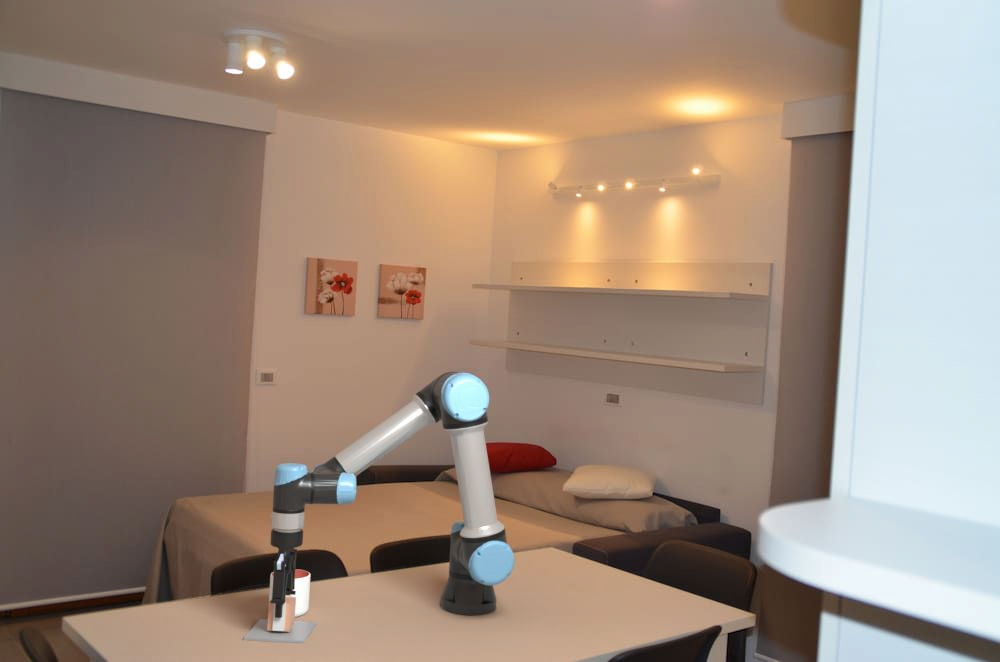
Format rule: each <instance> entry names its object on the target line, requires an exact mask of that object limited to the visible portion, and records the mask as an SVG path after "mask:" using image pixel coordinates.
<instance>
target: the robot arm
mask: <svg viewBox="0 0 1000 662" xmlns="http://www.w3.org/2000/svg"><path fill="white" fill-rule="evenodd" d="M489 403H490V393H489V389H488V388H487V385H486V384H485V383H484V382H483V380H481V379H480V378H479V377H477V376H476V375H473V374H472V373H467V372H458V371H447V372H444V373H442V374H440V375H438V376H437V377H435V379H433V380H431V382H429V383H427V385H426V386H424V387H423V388H422V389H420V390H419V391H417V392H416V393H415V394H413V398H412V400H411V401H410V402H408V403H407V404H406V405H404V406H403V407H402V408H401V409H399V410H397V411H396V412H395V413H393V414H392V415H391V416H389V417H388V418H386V419H385V420H383V421H382V422H380V423H378V425H376V426H375V427H373V428H372V429H370V430H369V431H368V432H366V433H365V434H364V435H362V436H361V437H359V438H357V440H355V441H354V442H352V443H351V444H349V445H348V446H347V447H345V448H344V449H343V450H342V451H340V452H338V453H337V454H336V455H334V456H333V457H331V458H330V459H328V460H327V461H326V462H324V463H320V464H317V465H315V466H314V467H313V468H312V470H311V472H309V471H308V466H307V465H306V464H302V463H296V462H295V463H294V462H293V463H291V462H287V463H285V462H284V463H281V464H278V465H277V466H276V468H275V472H274V479H273V480H274V481H273V491H272V492H273V493H272V494H273V496H272V513H271V514H270V515H269V518H270V519H271V528H272V529H271V530H270V543H269V544H270V546H272V547H274V548H277V549H278V551H277V553H276V555H275V560H274V561H273V572H274V576H273V591H272V600H271V601H270V603H274V611H273V627H272V631H284V630H285V614H286V602H285V597H292V595H295V593H296V591H293V590H294V588H295V569H297V568H296V566H297V564H296V563H297V555H298V549H296V548H299V547H301V546H302V545H303V543H304V542H303V539H304V530H303V528H304V527H305V512H306V511H305V507H306V505H339V506H341V505H350V504H353V503H354V502H355V500H356V496H357V478H356V477H357V476H358V475H360V474H361V473H362V472H364V471H365V470H367V469H368V468H370V467H371V466H372V465H374V464H375V463H376V462H378V461H379V460H380V459H382V458H383V457H385V456H386V455H388V454H389V453H390V452H392V451H393V450H395V449H396V448H397V447H398V446H400V445H402V444H403V443H404V442H406V441H407V440H409V439H410V438H411V437H413V436H414V435H415V434H417V433H418V432H419V431H421V430H422V429H424V428H425V427H427V426H428V425H436V424H437V423H439V422H440V421H441V423H442V427H443V428H442V429H443V430H444V431H445V432H446V433H447V434H449V436H450V442H451V446H452V447H451V449H452V452H453V453H452V454H453V460H454V466H455V467H454V468H455V473H456V479H457V487H458V491H459V498H460V499H459V500H460V504H461V511H462V517H463V521H456V522H453V524H452V525H451V531H450V535H449V536H450V546H449V547H450V548H449V565H448V569H449V570H448V578H447V582H446V583H445V587H444V589H443V592H442V594H441V596H440V597H441V598H440V607H441V608H442V609H443V610H445V611H447V612H450V613H453V614H456V615H457V614H458V615H466V616H468V615H469V616H471V615H472V616H476V615H485V614H490V613H493V612H494V611H496V609H497V595H496V592H495V589H494V586H496V585H499V584H501V583H503V582H504V581H506V580H507V579H508V578H509V576H510V575H511V574H512V573H513V570H514V567H515V561H516V560H515V555H514V551H513V549H512V548H511V546H510V545H509V544H508V540H507V533H506V527H505V525H504V523H502V522H501V521H500V520H498V515H497V514H498V513H497V508H496V502H495V493H494V488H493V484H492V483H493V482H492V481H493V480H492V476H491V469H490V461H489V457H488V451H487V444H486V437H485V431H484V430H485V428H486V426H487V425H488V424H489V419H488V412H487V410H488V407H489Z"/></svg>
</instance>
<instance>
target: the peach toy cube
mask: <svg viewBox="0 0 1000 662" xmlns="http://www.w3.org/2000/svg"><path fill="white" fill-rule="evenodd" d="M285 602H286V614H285V630H284V631H285V632H289V631H290V630H291V628H292V627H293V626H294V621H296V620H295V618H296V617H295V606H296V597H285ZM273 611H274V603H270V602H269V601H268V612H267V619H268V625H267V630H270V631H272V627H273Z"/></svg>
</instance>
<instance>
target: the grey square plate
mask: <svg viewBox="0 0 1000 662" xmlns="http://www.w3.org/2000/svg"><path fill="white" fill-rule="evenodd" d="M317 624H318V622H317V621H304V620H303V621H301V620H294V626H293V627H292V628H291V630H290V631H289V632H285V631H270V630H267V625H268V618H265V619H263V618H259V620H257V622H256V623H255V624H254V625H253V627H252V628H251V629H250V630H249V631H247V634H246V635H245V636H244V637H243V641H256V642H270V643H271V642H272V643H274V642H275V643H293V644H295V643H296V644H305V642H306V641H307V639H308V638H309V637H310V635H311V633H312V632H313V630H314V629H315V627H316V626H317Z"/></svg>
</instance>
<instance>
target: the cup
mask: <svg viewBox="0 0 1000 662" xmlns="http://www.w3.org/2000/svg"><path fill="white" fill-rule="evenodd" d="M273 576H274V571H273V572H271V573H270V576H269V577H270V578H269V596H268V597H269V598H268V603H269V602H270V601H271V600H272V591H273ZM310 586H311V573H310V572H309V571H307V570H304V569H297V568H295V588H294V590H293V591H296V593H295V595H292V597H296V606H295V618H297V617H298V618H299V617H301V616H303V615H306V614H307V613H308V611H309V608H310V605H309V604H310V591H311V589H310V588H311V587H310Z"/></svg>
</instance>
